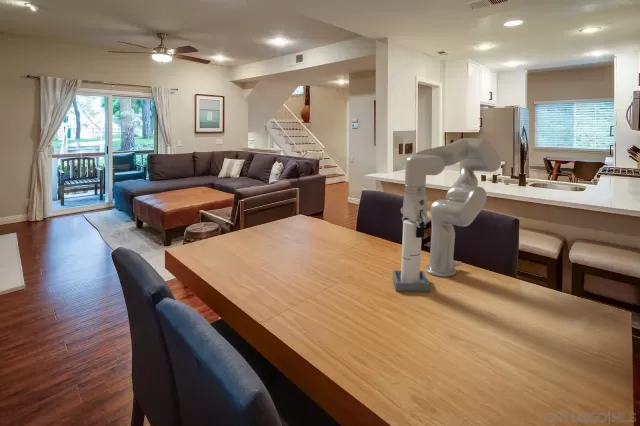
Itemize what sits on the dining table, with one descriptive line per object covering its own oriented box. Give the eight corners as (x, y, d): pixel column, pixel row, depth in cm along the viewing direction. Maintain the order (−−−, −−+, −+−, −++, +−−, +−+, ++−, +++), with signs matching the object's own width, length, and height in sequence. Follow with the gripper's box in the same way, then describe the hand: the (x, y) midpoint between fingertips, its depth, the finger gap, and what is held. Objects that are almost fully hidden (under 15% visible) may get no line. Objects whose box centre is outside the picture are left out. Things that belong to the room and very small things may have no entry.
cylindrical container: (419, 286, 140) (423, 224, 134) (400, 285, 142) (403, 223, 136) (418, 279, 147) (421, 219, 141) (400, 278, 148) (403, 219, 143)
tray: (423, 278, 150) (423, 271, 149) (429, 292, 138) (429, 283, 137) (392, 278, 151) (392, 270, 150) (395, 291, 139) (396, 282, 138)
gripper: (437, 193, 129) (434, 239, 133) (410, 186, 145) (408, 227, 149) (419, 194, 126) (417, 241, 130) (394, 187, 142) (392, 229, 146)
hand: (412, 233), depth 139 cm, fingers open, 9 cm apart
